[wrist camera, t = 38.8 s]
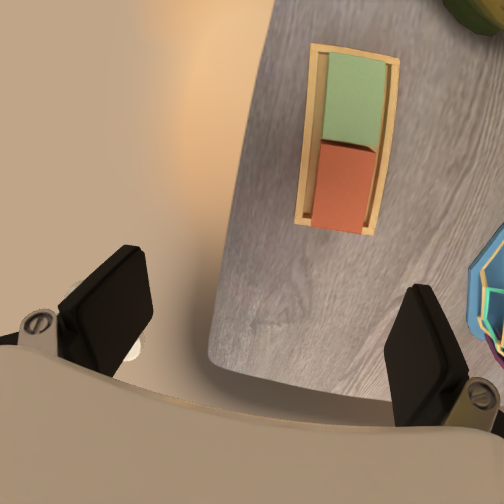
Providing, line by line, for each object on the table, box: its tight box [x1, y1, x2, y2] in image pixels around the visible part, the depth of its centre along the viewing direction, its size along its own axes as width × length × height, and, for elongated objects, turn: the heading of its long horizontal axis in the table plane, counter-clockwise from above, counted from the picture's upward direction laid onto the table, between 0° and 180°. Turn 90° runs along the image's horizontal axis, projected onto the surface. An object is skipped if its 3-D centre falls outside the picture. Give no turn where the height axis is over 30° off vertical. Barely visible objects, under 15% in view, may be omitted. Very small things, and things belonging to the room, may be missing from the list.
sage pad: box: [321, 52, 386, 147], centre depth 24 cm, size 8×5×4 cm, turn 177°
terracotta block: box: [311, 139, 376, 234], centre depth 28 cm, size 8×5×4 cm, turn 177°
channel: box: [294, 43, 400, 235], centre depth 27 cm, size 19×9×2 cm, turn 177°
